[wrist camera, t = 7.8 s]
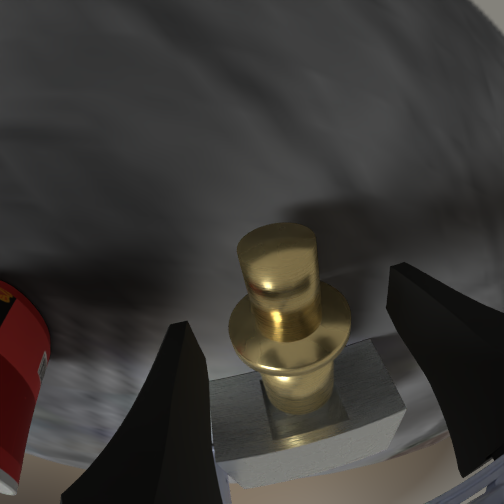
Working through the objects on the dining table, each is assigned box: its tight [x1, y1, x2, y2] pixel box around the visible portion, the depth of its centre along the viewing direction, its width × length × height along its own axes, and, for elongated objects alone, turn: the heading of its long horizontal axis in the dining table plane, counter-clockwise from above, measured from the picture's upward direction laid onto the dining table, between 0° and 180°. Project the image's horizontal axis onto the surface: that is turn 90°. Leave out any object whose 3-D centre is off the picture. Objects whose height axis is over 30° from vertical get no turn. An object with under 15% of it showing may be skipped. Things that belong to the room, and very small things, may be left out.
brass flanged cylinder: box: [228, 223, 351, 415], centre depth 14 cm, size 10×6×6 cm, turn 11°
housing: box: [209, 339, 407, 489], centre depth 20 cm, size 8×12×6 cm, turn 101°
